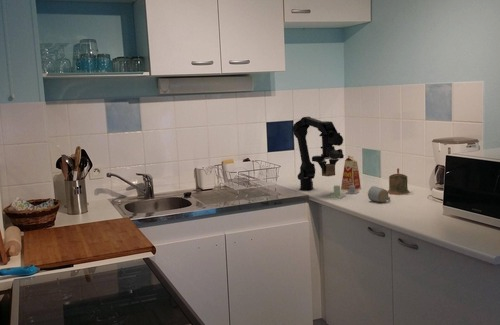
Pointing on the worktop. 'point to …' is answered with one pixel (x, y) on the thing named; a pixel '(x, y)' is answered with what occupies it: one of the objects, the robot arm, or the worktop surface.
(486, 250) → the worktop surface
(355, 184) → the milk carton
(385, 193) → the ceramic mug
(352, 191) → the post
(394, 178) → the rusty brown bell
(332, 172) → the brown rectangular block
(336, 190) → the post
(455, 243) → the worktop surface
